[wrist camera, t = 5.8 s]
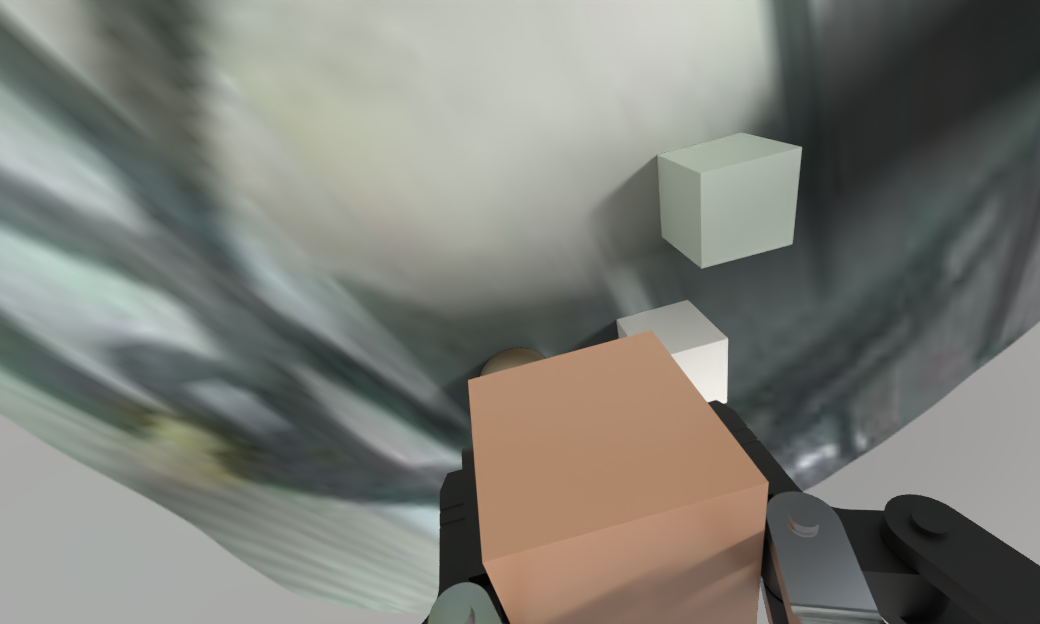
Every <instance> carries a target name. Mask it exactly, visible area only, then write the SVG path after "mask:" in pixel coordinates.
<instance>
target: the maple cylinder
mask: <svg viewBox="0 0 1040 624" xmlns="http://www.w3.org/2000/svg"><path fill="white" fill-rule="evenodd" d="M543 359H546V358H545V357H544V356H543V355H542V354H540V353H539V352H537V351H535V350H532V349H528V348H511V349H507V350H504V351H502V352H500V353H498V354H496V355H494V356H493V357H492V358H491V359H490V360H489V361H488V362H487V363H486V364H485V366H484V367H483V369H482V372H481V375H480V377H481V376H485V375H488V374H492V373H496V372H499V371H503V370H507V369H510V368H514V367H518V366H521V365H525V364H529V363H532V362H536V361H540V360H543Z"/></svg>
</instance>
